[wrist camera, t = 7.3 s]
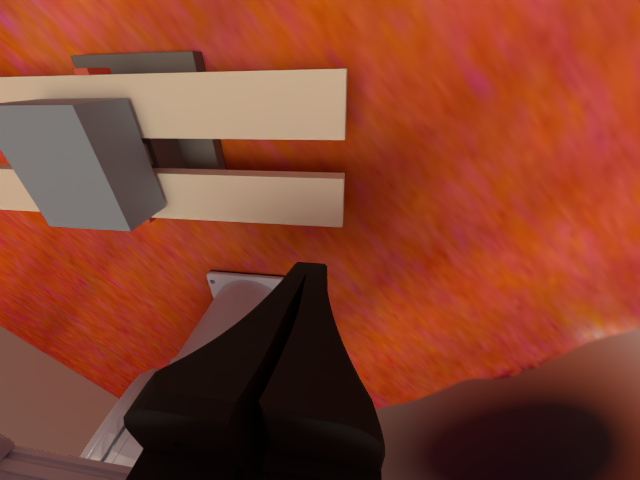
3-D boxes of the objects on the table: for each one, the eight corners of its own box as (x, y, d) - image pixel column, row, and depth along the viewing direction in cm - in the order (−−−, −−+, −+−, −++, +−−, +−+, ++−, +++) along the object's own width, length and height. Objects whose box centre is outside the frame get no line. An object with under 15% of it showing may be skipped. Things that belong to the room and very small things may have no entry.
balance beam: (351, 46, 15) (346, 40, 11) (346, 209, 20) (341, 243, 16) (-32, 60, 18) (-139, 58, 15) (50, 196, 24) (-11, 221, 20)
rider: (137, 96, 14) (72, 104, 11) (173, 201, 17) (130, 231, 14) (55, 97, 15) (-29, 105, 12) (105, 198, 18) (49, 226, 15)
